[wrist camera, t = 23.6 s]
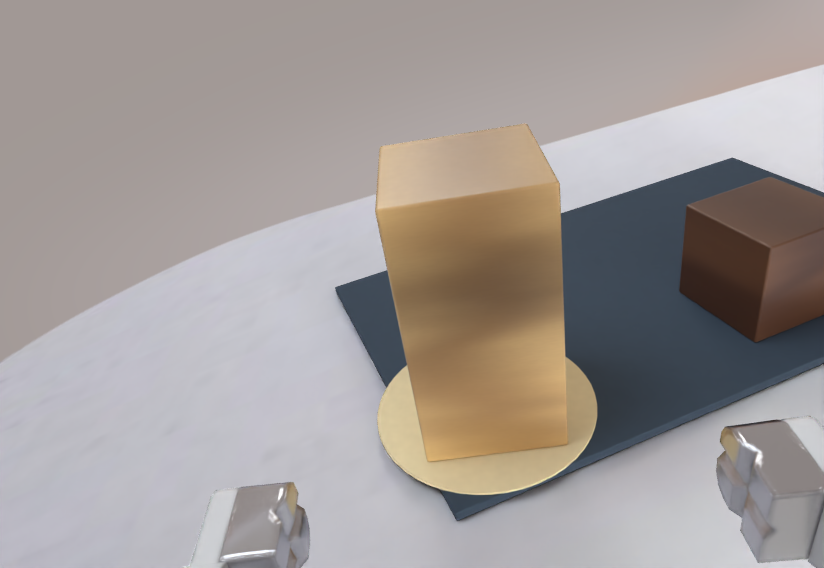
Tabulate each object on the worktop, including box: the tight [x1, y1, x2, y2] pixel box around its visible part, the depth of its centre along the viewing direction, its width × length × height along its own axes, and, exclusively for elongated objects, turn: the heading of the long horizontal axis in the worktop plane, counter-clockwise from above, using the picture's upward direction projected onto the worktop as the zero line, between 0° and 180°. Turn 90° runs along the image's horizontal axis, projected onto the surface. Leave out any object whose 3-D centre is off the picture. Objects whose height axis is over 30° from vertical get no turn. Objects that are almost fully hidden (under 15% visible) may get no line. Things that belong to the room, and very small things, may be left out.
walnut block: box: [679, 177, 824, 342], centre depth 26 cm, size 4×4×4 cm
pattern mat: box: [335, 158, 824, 520], centre depth 30 cm, size 27×16×1 cm, turn 111°
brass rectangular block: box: [375, 124, 568, 462], centre depth 22 cm, size 5×5×10 cm
